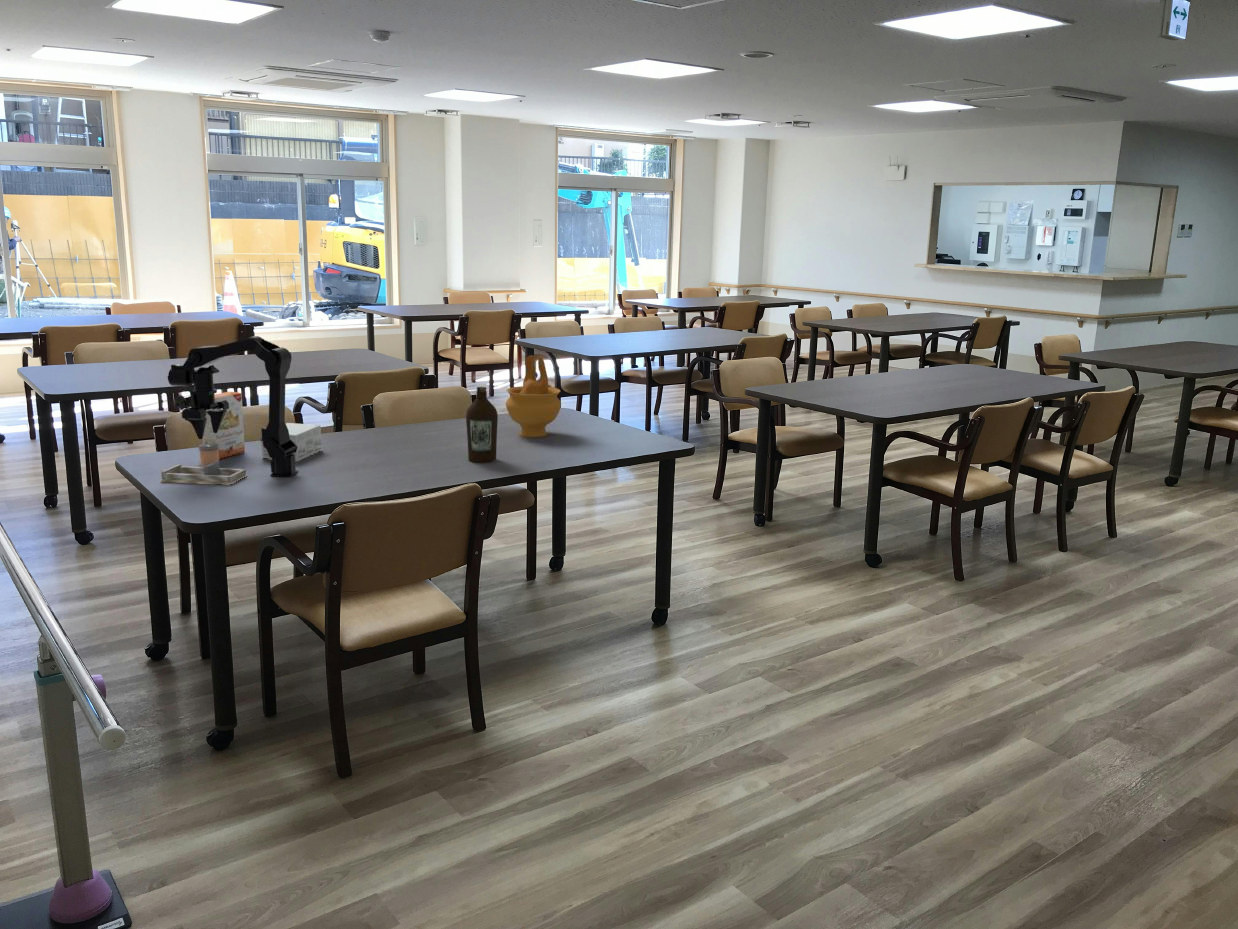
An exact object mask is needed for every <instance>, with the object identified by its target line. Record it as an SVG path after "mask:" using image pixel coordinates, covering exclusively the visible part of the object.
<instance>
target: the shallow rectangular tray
mask: <svg viewBox="0 0 1238 929" xmlns="http://www.w3.org/2000/svg"><path fill="white" fill-rule="evenodd" d="M219 469H220V474H219V475H205V474H204V467H201V466H184V465H183V466H182V464H181V463H178V464H175V465H173V466H171V467H168V468H165V469H164V470H162V471H161V473H160V474H161V479H160V483H162V482H163V483H179V484H180V483H181V484H195V483H196V484H198V485H201V484H202V485H215V484H222V485H221V486H231V485H230V484H232V485H233V484H235V483H237V482H239V481H241V480H242V478H243V479H245V478H247V477H248V474H247V471H246V470H247V469H245V468H243V469H242V468H225V467H220V468H219ZM246 476H247V477H246ZM244 477H245V478H244ZM240 479H241V480H240ZM238 480H239V481H238ZM236 481H237V482H236Z"/></svg>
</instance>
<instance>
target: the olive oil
mask: <svg viewBox="0 0 1238 929" xmlns="http://www.w3.org/2000/svg"><path fill="white" fill-rule="evenodd" d="M487 392H488V391H487V387H486V386H477V387H476V399H474V401H473V402H472V403H471V404H470V405H469V406H468V408H467V409H466V414H465V420H466V421H465V422H466V435H467V437H466V438H467V439H466V440H467V457H468V461H469V462H472V463H477V464H480V463H481V464H487V463H493V462H495V461H496V460H497V446H498V445H497V442H498V440H497V439H498V438H497V436H498V423H499V422H498V419H499V416H498V411H497V409H496V406H494V404H492V402H490V400H488V398H487V397H488V393H487Z"/></svg>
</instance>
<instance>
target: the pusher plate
mask: <svg viewBox="0 0 1238 929" xmlns="http://www.w3.org/2000/svg"><path fill="white" fill-rule="evenodd" d="M219 466H220V461H219V462H213V463H211V464H209V465H207V466H205V467H204V474H205V475H219V474H220V469H219Z"/></svg>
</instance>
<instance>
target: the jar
mask: <svg viewBox="0 0 1238 929" xmlns="http://www.w3.org/2000/svg"><path fill="white" fill-rule="evenodd" d="M218 448H219V446H218V444H214V443H209V444H202V443H200V445H198V450H199V459H200V467H205V466H207V465H209V464H211V463H213V462H219V463H220V459H219V453H218ZM219 468H221V467H220V465H219Z"/></svg>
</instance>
